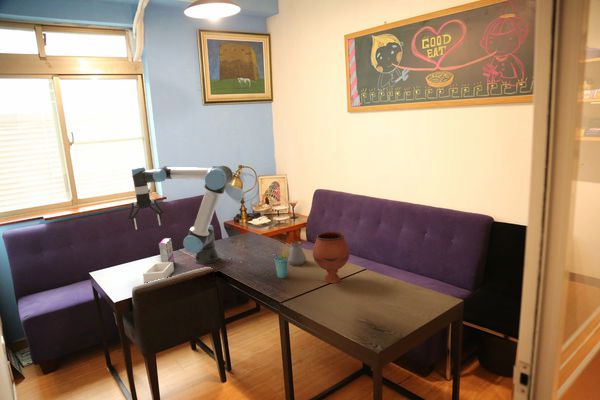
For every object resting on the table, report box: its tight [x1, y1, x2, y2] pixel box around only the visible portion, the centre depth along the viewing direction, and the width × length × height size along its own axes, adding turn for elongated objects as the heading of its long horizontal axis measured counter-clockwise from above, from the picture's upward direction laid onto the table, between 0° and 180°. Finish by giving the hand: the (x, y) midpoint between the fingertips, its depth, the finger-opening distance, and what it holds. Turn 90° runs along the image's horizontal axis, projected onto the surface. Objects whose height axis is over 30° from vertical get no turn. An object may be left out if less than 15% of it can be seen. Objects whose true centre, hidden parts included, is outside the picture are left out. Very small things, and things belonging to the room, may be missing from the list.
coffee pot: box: [272, 236, 307, 266], centre depth 247 cm, size 21×12×15 cm, turn 60°
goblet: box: [312, 231, 350, 284], centre depth 215 cm, size 19×19×25 cm
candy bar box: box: [158, 237, 175, 264], centre depth 254 cm, size 11×5×16 cm, turn 3°
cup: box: [270, 249, 290, 279], centre depth 225 cm, size 14×8×15 cm, turn 140°
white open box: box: [142, 262, 175, 284], centre depth 238 cm, size 11×17×6 cm, turn 179°
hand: (148, 227), depth 249 cm, fingers open, 13 cm apart
